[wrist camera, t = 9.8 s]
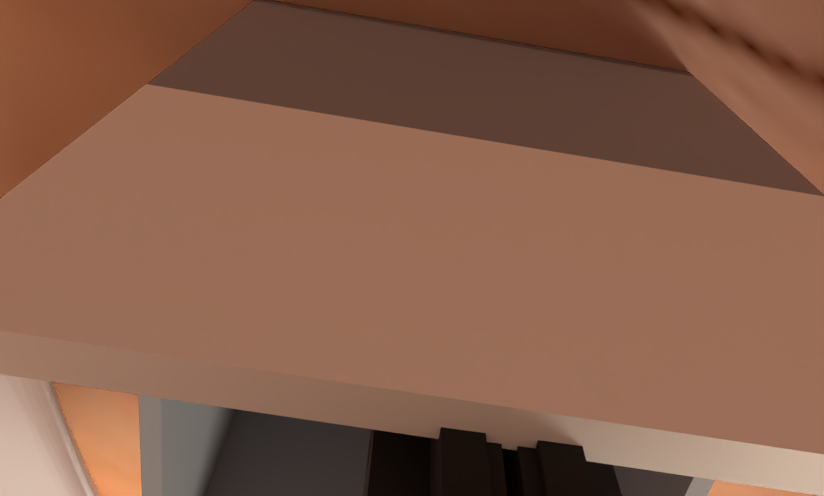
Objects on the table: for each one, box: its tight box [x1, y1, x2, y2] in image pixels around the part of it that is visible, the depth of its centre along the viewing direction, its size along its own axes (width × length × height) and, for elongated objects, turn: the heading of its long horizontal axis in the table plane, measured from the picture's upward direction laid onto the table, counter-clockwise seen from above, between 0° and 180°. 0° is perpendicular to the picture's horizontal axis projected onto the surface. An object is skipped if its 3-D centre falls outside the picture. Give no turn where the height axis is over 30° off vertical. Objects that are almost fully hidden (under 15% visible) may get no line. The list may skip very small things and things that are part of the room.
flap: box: [0, 84, 824, 496], centre depth 12 cm, size 15×8×1 cm
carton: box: [139, 0, 824, 496], centre depth 25 cm, size 16×18×12 cm
